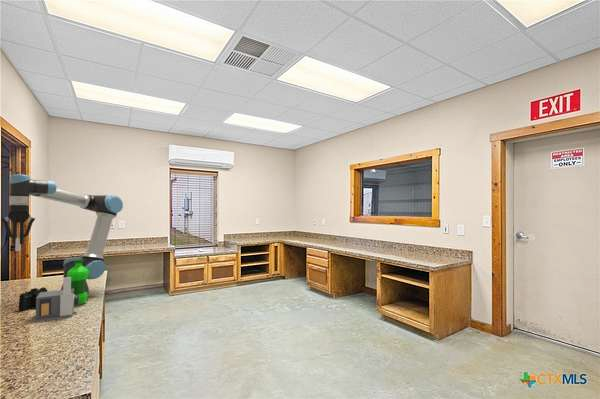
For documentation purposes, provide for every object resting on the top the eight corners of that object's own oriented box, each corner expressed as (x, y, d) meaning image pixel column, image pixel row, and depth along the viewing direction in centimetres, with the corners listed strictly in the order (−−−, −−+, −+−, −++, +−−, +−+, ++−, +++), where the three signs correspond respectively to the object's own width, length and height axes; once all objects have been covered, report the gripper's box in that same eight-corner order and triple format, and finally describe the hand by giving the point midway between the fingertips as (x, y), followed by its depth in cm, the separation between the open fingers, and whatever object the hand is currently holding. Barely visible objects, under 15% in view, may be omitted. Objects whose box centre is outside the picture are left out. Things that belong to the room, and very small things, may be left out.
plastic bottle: (87, 300, 179) (88, 257, 180) (88, 304, 171) (89, 259, 172) (66, 303, 173) (67, 259, 174) (66, 308, 165) (67, 261, 166)
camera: (32, 312, 159) (33, 293, 159) (15, 311, 160) (16, 292, 161) (57, 304, 172) (58, 286, 173) (41, 303, 174) (42, 285, 174)
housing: (39, 314, 156) (40, 292, 156) (79, 308, 165) (79, 287, 165) (34, 322, 144) (35, 298, 145) (77, 315, 153) (77, 293, 154)
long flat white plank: (60, 315, 150) (61, 277, 151) (72, 313, 153) (73, 276, 154) (59, 316, 149) (60, 278, 150) (72, 314, 152) (73, 277, 153)
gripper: (-1, 204, 150) (-2, 252, 149) (34, 204, 157) (33, 250, 156) (3, 204, 156) (2, 250, 155) (37, 204, 163) (35, 249, 162)
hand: (17, 250), depth 156 cm, fingers closed
